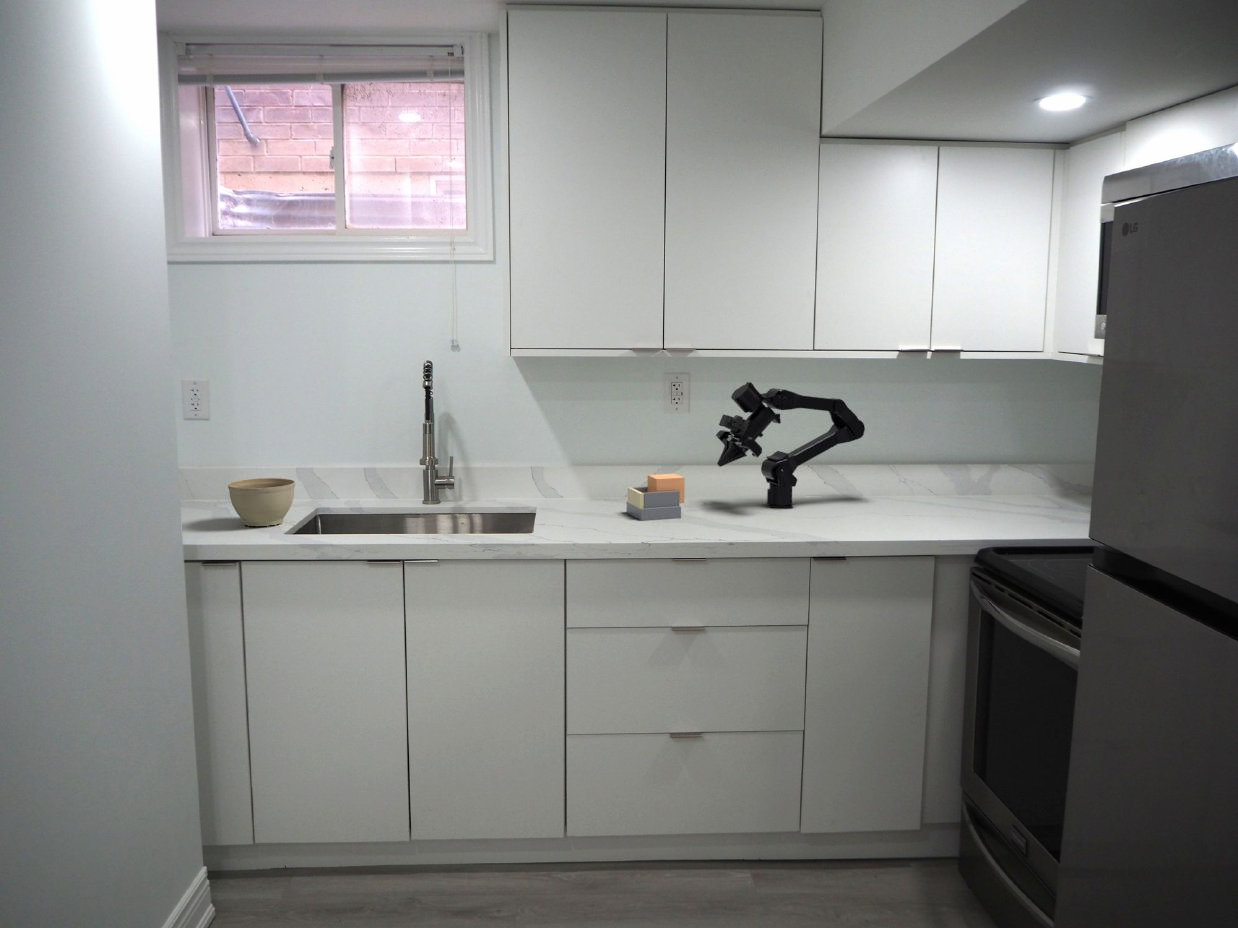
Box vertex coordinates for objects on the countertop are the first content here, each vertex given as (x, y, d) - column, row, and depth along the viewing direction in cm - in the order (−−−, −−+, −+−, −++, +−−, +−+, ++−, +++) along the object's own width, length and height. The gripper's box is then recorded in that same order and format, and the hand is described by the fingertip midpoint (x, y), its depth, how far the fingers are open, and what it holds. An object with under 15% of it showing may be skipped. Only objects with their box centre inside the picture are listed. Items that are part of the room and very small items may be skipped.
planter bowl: (257, 533, 230) (254, 490, 228) (217, 526, 238) (214, 484, 237) (310, 522, 243) (308, 481, 241) (270, 515, 252) (268, 475, 250)
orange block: (674, 498, 257) (674, 473, 256) (684, 503, 250) (684, 477, 249) (647, 500, 255) (647, 475, 253) (656, 504, 248) (656, 479, 247)
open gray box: (664, 509, 259) (664, 484, 258) (680, 517, 248) (681, 491, 247) (626, 512, 256) (626, 486, 255) (641, 520, 244) (641, 494, 243)
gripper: (722, 401, 264) (686, 441, 262) (752, 407, 247) (713, 450, 245) (747, 428, 268) (711, 468, 266) (778, 435, 250) (740, 478, 248)
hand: (718, 465), depth 256 cm, fingers closed
